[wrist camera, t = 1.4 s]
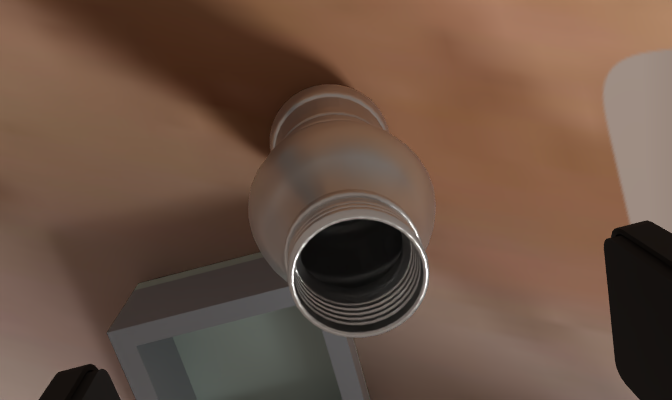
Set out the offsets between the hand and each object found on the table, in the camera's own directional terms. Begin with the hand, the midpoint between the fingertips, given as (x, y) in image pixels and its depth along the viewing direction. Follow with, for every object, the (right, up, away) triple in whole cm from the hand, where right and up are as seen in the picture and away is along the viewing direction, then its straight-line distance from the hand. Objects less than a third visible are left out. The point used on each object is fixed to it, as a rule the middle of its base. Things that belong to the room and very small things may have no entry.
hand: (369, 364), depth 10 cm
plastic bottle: (-1, +7, +23) cm, 24 cm away
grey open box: (-6, -7, +27) cm, 29 cm away
